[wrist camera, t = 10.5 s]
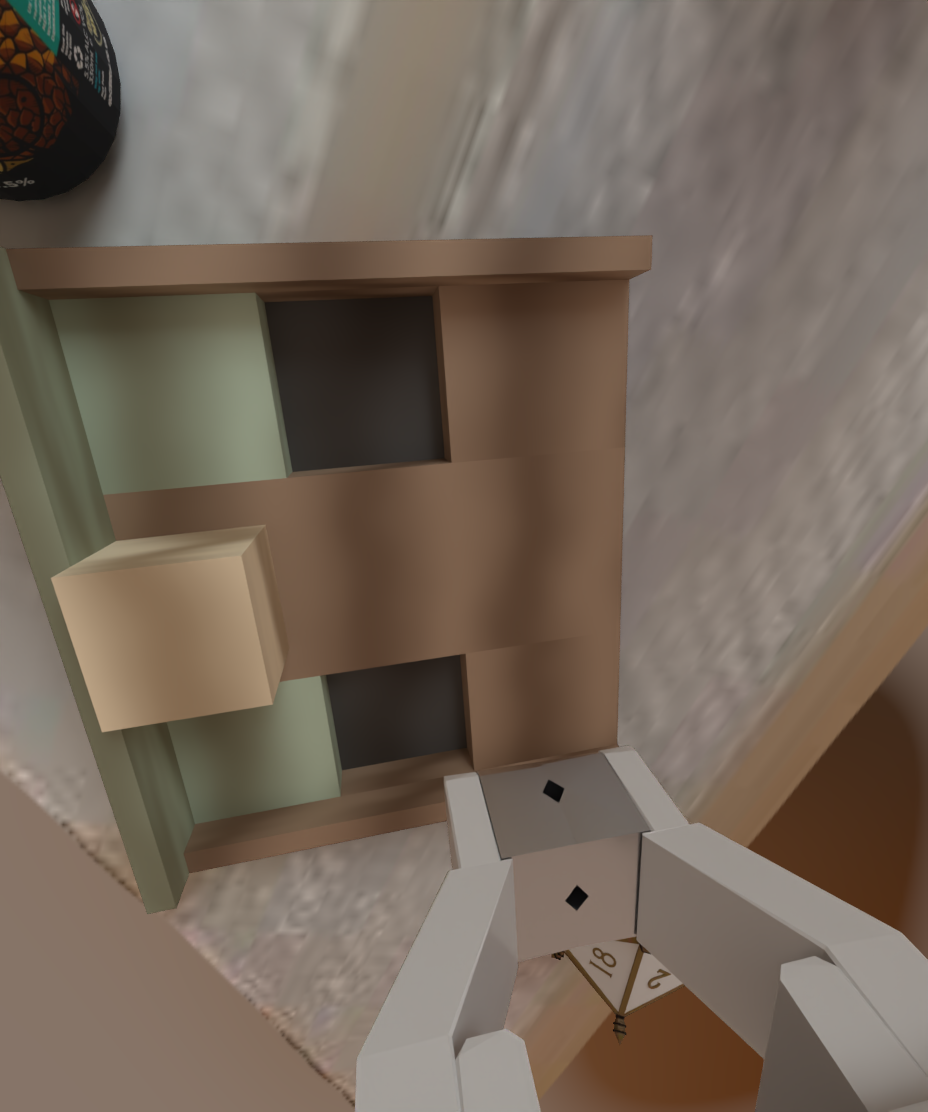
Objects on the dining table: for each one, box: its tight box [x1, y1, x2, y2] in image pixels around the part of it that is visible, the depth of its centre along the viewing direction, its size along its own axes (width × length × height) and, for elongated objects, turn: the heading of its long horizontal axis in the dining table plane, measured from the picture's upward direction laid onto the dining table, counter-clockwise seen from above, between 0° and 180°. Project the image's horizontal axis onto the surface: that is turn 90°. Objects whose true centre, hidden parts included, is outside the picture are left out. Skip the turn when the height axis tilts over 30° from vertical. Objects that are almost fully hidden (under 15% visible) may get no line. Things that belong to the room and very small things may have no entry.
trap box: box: [0, 236, 652, 914], centre depth 20 cm, size 20×22×5 cm
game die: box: [552, 936, 685, 1044], centre depth 25 cm, size 9×8×10 cm
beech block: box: [51, 525, 289, 732], centre depth 17 cm, size 5×5×4 cm
